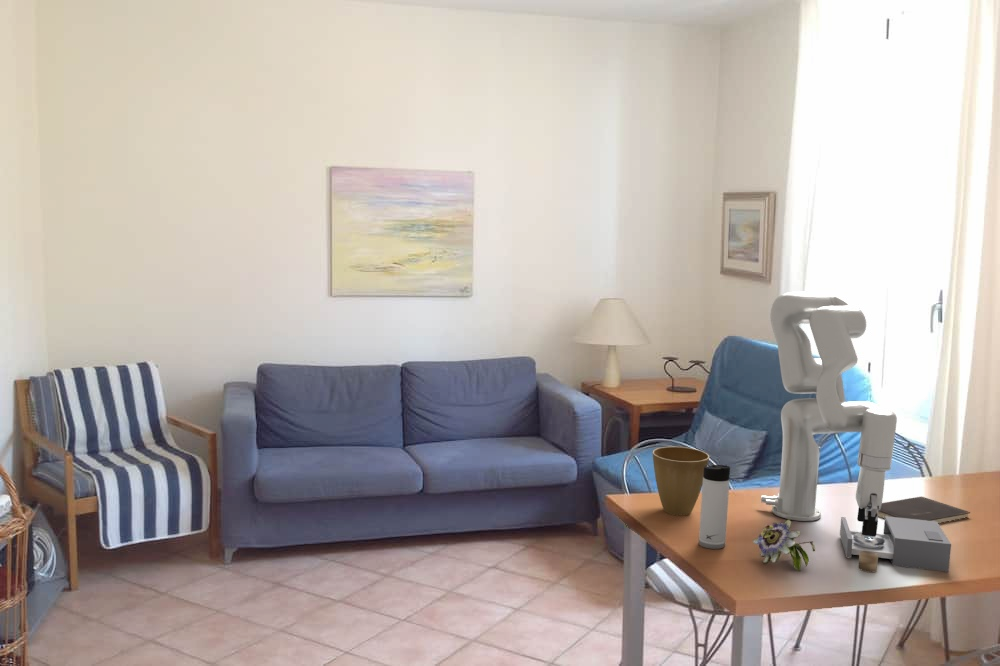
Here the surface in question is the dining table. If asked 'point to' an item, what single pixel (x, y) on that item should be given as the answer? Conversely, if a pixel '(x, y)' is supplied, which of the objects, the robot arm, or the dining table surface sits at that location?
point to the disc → (868, 541)
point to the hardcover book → (921, 510)
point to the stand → (868, 561)
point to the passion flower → (781, 544)
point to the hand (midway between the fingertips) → (866, 528)
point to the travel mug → (714, 506)
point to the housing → (918, 543)
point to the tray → (854, 549)
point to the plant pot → (679, 477)
